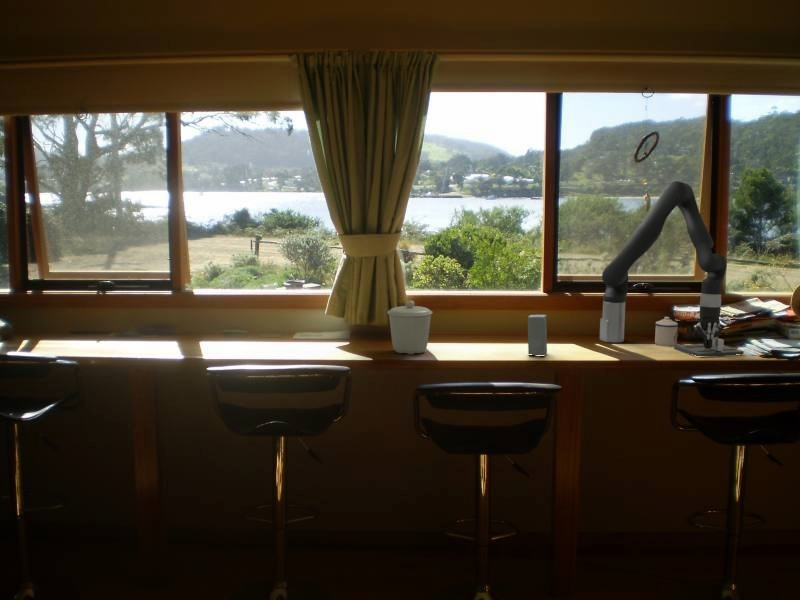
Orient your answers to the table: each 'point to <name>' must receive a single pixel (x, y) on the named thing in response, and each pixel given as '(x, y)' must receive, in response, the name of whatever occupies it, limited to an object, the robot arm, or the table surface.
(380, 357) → the table surface
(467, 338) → the table surface
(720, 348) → the fader silver
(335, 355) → the table surface
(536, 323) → the skincare box
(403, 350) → the canister
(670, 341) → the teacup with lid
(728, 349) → the console
